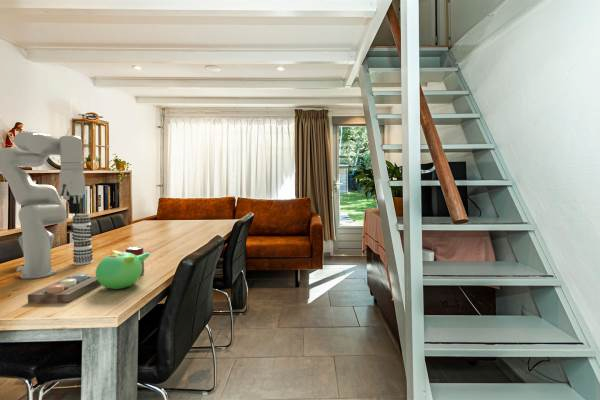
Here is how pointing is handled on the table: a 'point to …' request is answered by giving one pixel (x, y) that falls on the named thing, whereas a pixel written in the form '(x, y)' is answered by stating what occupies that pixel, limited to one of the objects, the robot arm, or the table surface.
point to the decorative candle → (82, 239)
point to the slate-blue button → (80, 277)
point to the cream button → (68, 282)
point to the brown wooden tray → (64, 292)
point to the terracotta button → (55, 289)
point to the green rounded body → (120, 269)
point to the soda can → (136, 252)
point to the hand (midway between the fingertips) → (74, 213)
